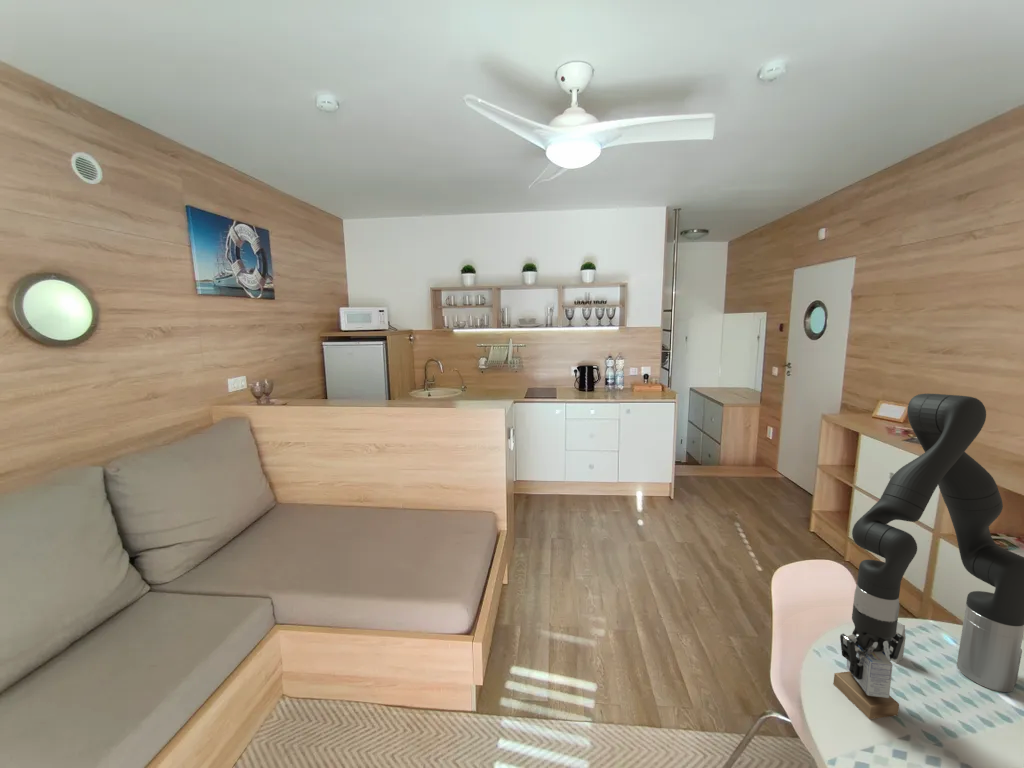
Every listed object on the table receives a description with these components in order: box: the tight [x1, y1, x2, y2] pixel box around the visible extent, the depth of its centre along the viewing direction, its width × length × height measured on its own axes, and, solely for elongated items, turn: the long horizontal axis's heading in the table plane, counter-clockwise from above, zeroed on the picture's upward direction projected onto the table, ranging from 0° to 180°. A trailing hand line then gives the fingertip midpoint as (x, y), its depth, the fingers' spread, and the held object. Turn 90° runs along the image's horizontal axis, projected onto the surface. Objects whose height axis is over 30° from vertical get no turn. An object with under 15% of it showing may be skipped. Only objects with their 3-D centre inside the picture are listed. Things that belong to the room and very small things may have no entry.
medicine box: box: [846, 646, 894, 698], centre depth 94 cm, size 8×4×9 cm, turn 168°
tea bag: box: [890, 622, 906, 664], centre depth 108 cm, size 4×7×10 cm, turn 28°
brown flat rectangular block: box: [832, 670, 900, 720], centre depth 95 cm, size 7×9×3 cm
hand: (867, 674), depth 94 cm, fingers closed on medicine box, 5 cm apart
